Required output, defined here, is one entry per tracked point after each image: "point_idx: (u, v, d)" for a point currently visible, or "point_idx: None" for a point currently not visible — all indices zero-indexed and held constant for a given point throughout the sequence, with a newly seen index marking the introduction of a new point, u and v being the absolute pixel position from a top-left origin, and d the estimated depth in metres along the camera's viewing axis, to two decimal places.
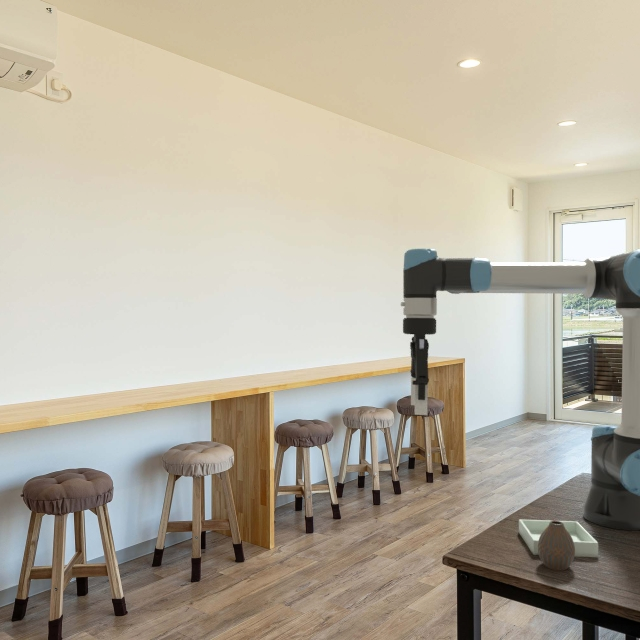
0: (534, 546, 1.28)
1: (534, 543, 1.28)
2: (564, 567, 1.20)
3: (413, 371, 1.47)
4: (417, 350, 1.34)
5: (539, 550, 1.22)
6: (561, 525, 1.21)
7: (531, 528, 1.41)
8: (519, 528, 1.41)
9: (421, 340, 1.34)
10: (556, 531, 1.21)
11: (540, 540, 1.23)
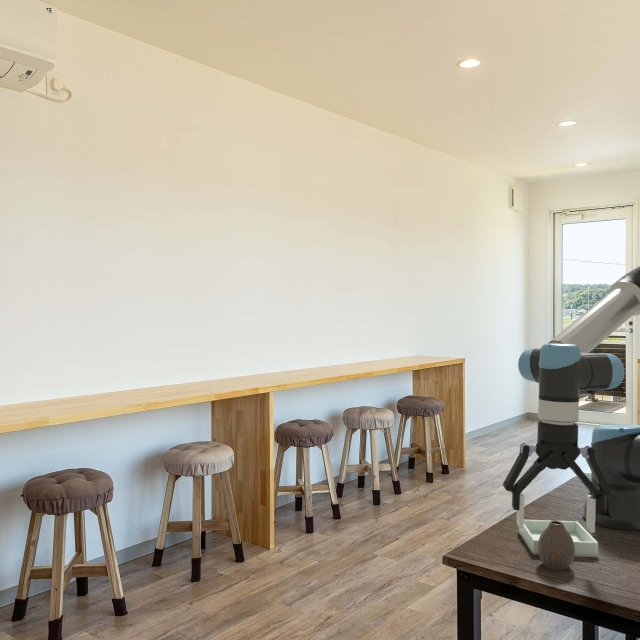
0: (534, 546, 1.28)
1: (534, 543, 1.28)
2: (564, 567, 1.20)
3: (586, 487, 1.23)
4: (519, 455, 1.24)
5: (539, 550, 1.22)
6: (561, 525, 1.21)
7: (531, 528, 1.41)
8: (519, 528, 1.41)
9: (522, 445, 1.23)
10: (556, 531, 1.21)
11: (540, 540, 1.22)
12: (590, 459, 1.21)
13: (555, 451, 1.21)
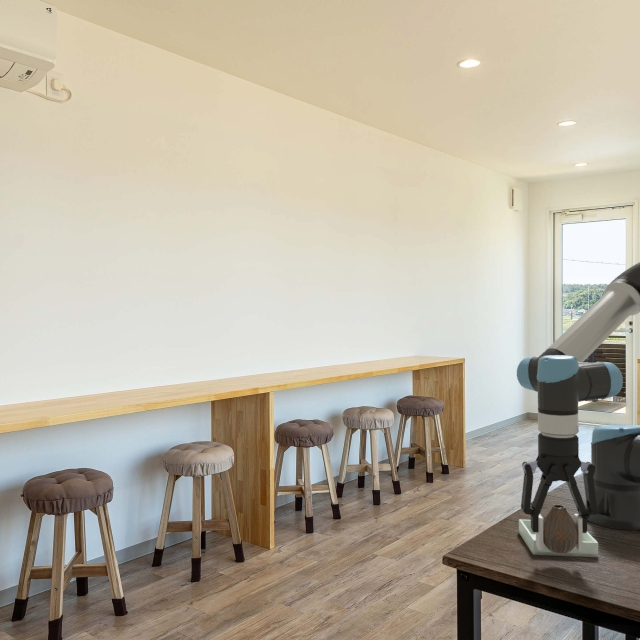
0: (534, 546, 1.28)
1: (534, 543, 1.28)
2: (567, 550, 1.20)
3: (575, 504, 1.23)
4: (524, 474, 1.24)
5: None
6: (563, 509, 1.22)
7: None
8: (519, 528, 1.41)
9: (523, 465, 1.23)
10: (558, 515, 1.21)
11: None
12: (588, 475, 1.21)
13: (555, 459, 1.21)
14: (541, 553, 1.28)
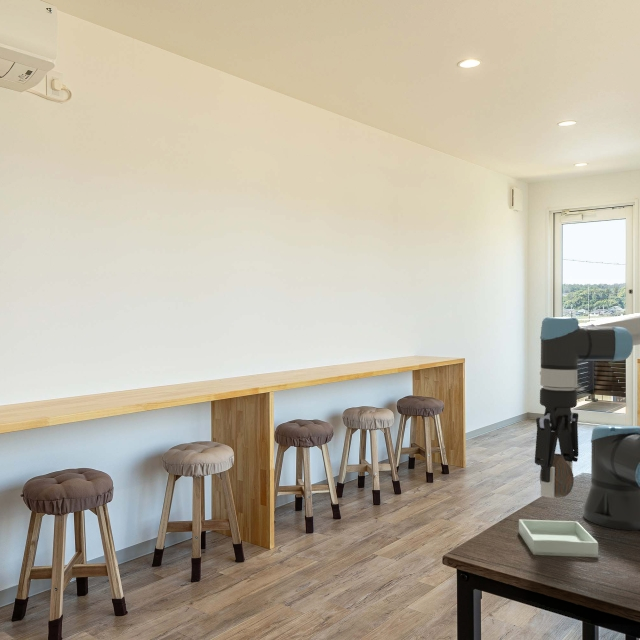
0: (534, 546, 1.28)
1: (534, 543, 1.28)
2: (569, 492, 1.33)
3: (561, 451, 1.37)
4: (538, 429, 1.31)
5: None
6: (562, 455, 1.34)
7: (531, 528, 1.41)
8: (519, 528, 1.41)
9: (541, 421, 1.30)
10: (562, 461, 1.32)
11: None
12: (575, 422, 1.36)
13: (560, 411, 1.33)
14: (541, 553, 1.28)
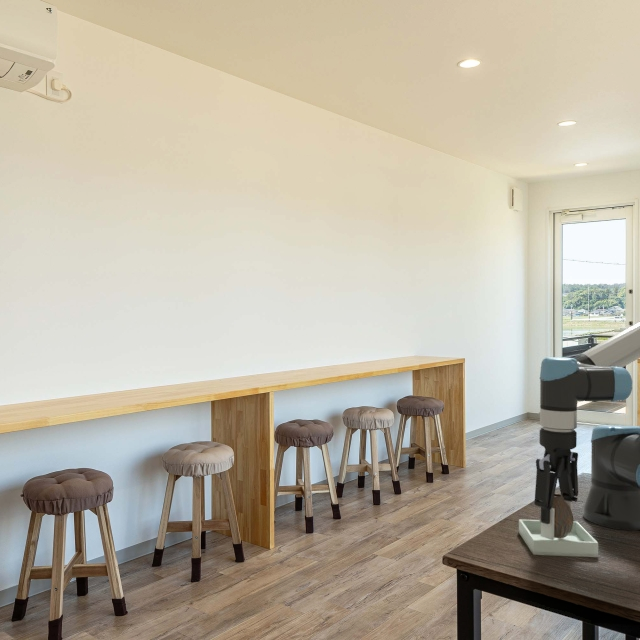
0: (534, 546, 1.28)
1: (534, 543, 1.28)
2: None
3: (561, 490, 1.37)
4: (537, 471, 1.31)
5: None
6: (562, 496, 1.34)
7: (531, 528, 1.41)
8: (519, 528, 1.41)
9: (541, 462, 1.30)
10: (562, 502, 1.33)
11: None
12: (575, 462, 1.37)
13: (560, 452, 1.33)
14: (541, 553, 1.28)
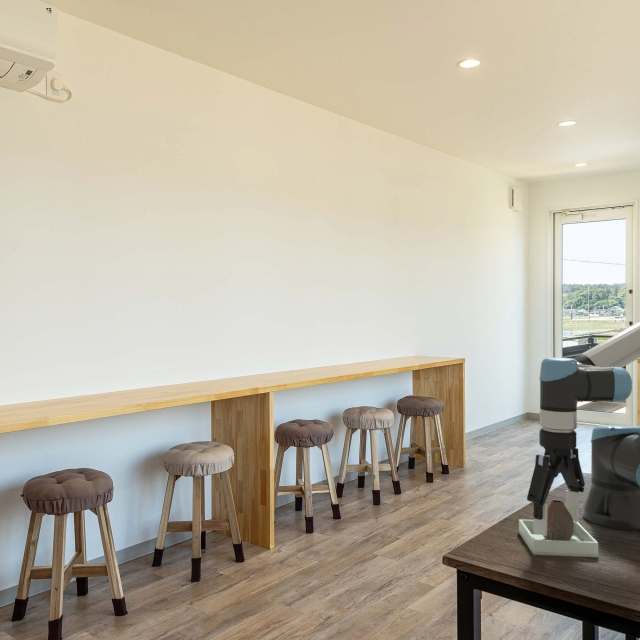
0: (534, 546, 1.28)
1: (534, 543, 1.28)
2: (569, 539, 1.33)
3: (567, 483, 1.39)
4: (536, 466, 1.30)
5: (550, 530, 1.32)
6: None
7: (531, 528, 1.41)
8: (519, 528, 1.41)
9: (541, 457, 1.30)
10: (562, 509, 1.33)
11: (550, 521, 1.32)
12: (576, 458, 1.37)
13: (560, 456, 1.33)
14: (541, 553, 1.28)
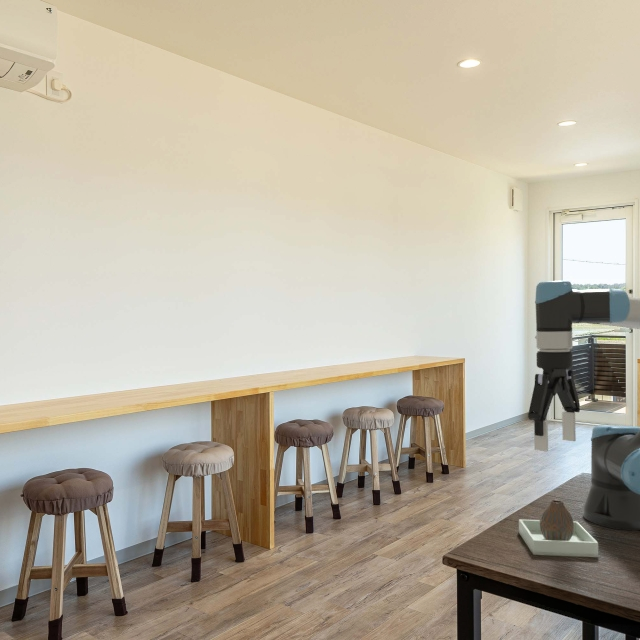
0: (534, 546, 1.28)
1: (534, 543, 1.28)
2: (569, 539, 1.33)
3: (563, 405, 1.42)
4: (535, 385, 1.33)
5: (550, 530, 1.32)
6: None
7: (531, 528, 1.41)
8: (519, 528, 1.41)
9: (540, 376, 1.33)
10: (562, 509, 1.33)
11: (550, 521, 1.32)
12: (571, 379, 1.41)
13: (558, 376, 1.36)
14: (541, 553, 1.28)
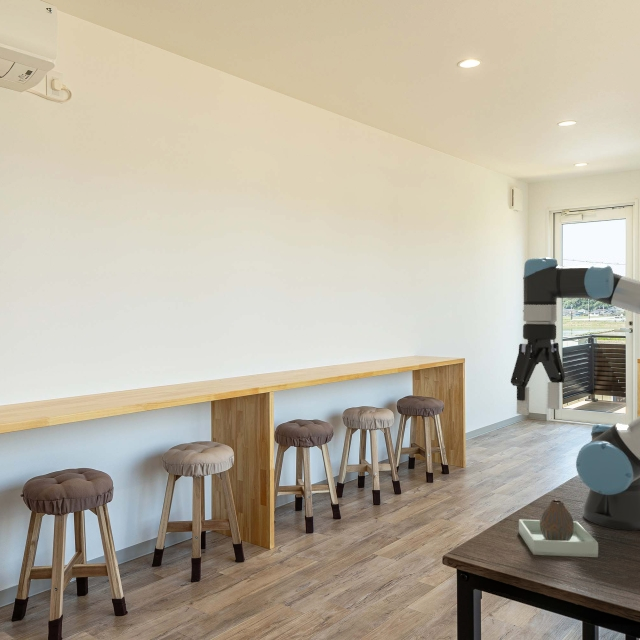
0: (534, 546, 1.28)
1: (534, 543, 1.28)
2: (569, 539, 1.33)
3: (549, 375, 1.52)
4: (519, 354, 1.44)
5: (550, 530, 1.32)
6: None
7: (531, 528, 1.41)
8: (519, 528, 1.41)
9: (523, 345, 1.43)
10: (562, 509, 1.33)
11: (550, 521, 1.32)
12: (556, 351, 1.51)
13: (542, 347, 1.46)
14: (541, 553, 1.28)
